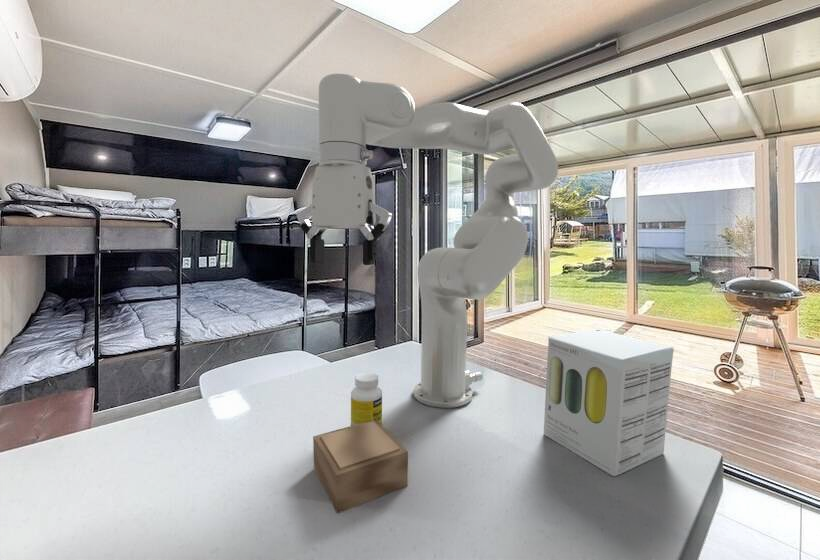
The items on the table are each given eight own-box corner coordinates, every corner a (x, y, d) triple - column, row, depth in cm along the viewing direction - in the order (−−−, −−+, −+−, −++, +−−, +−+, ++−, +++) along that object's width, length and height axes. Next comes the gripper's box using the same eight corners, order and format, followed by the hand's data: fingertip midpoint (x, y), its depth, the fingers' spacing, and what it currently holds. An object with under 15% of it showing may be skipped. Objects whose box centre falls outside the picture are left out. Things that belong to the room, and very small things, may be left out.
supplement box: (540, 434, 63) (545, 335, 61) (590, 417, 69) (596, 327, 67) (614, 479, 51) (623, 359, 49) (665, 454, 58) (676, 346, 56)
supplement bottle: (377, 440, 61) (376, 384, 59) (346, 436, 62) (345, 381, 61) (385, 424, 66) (385, 372, 65) (357, 421, 67) (356, 369, 66)
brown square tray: (376, 449, 58) (376, 417, 58) (407, 485, 50) (407, 449, 49) (314, 468, 53) (313, 434, 52) (337, 513, 45) (336, 473, 44)
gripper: (400, 161, 60) (398, 264, 62) (310, 166, 66) (311, 260, 68) (382, 150, 53) (381, 267, 55) (283, 157, 59) (285, 262, 61)
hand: (342, 263), depth 61 cm, fingers open, 9 cm apart
